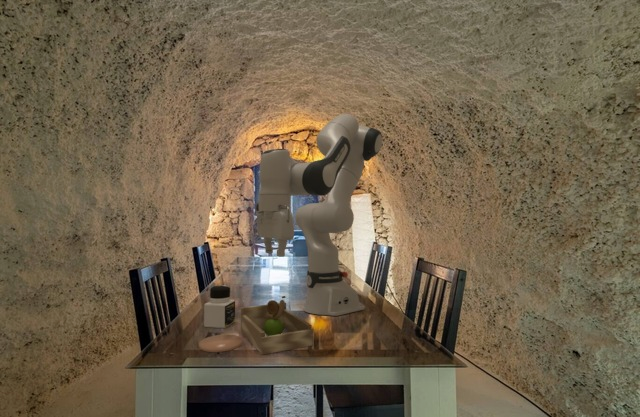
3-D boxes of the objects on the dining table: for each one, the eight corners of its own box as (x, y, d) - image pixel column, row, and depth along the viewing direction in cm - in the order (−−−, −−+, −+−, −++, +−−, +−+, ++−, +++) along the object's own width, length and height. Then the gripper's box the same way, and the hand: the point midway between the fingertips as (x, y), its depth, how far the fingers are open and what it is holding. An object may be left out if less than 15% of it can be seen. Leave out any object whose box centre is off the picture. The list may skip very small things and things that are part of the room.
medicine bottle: (225, 328, 108) (225, 288, 108) (203, 327, 109) (204, 288, 109) (235, 321, 115) (235, 284, 115) (215, 320, 116) (215, 283, 116)
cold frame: (285, 324, 111) (285, 302, 111) (313, 345, 93) (313, 318, 94) (240, 331, 105) (240, 307, 105) (262, 354, 87) (262, 326, 87)
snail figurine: (277, 343, 95) (278, 298, 95) (259, 338, 99) (259, 295, 99) (290, 337, 100) (290, 294, 100) (272, 333, 103) (272, 291, 103)
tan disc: (236, 335, 102) (236, 332, 102) (246, 347, 92) (246, 344, 92) (196, 341, 97) (196, 338, 97) (202, 355, 87) (202, 351, 87)
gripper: (300, 204, 92) (300, 257, 92) (273, 206, 110) (273, 251, 110) (277, 204, 89) (277, 259, 89) (253, 206, 108) (253, 252, 107)
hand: (274, 254), depth 100 cm, fingers open, 8 cm apart
